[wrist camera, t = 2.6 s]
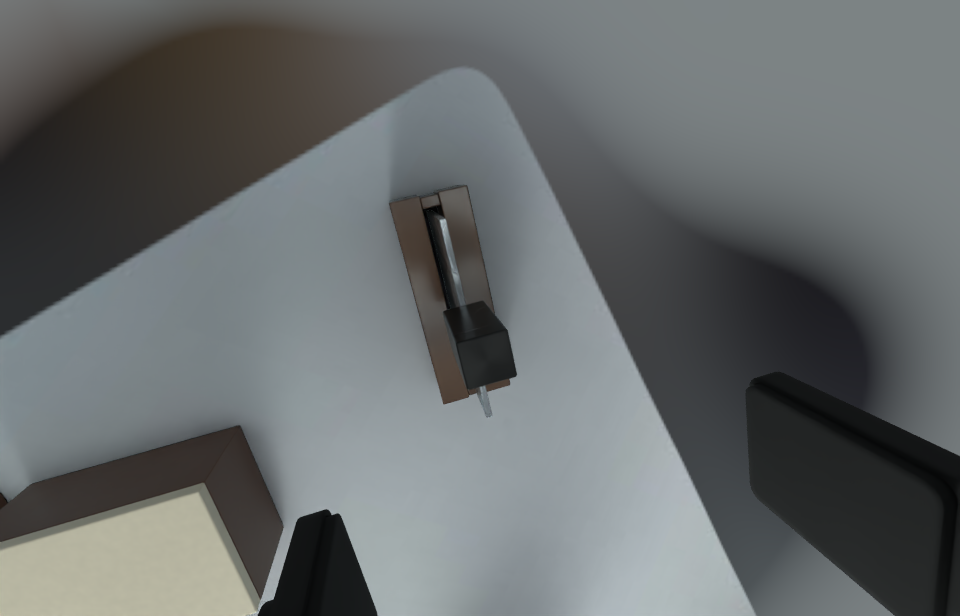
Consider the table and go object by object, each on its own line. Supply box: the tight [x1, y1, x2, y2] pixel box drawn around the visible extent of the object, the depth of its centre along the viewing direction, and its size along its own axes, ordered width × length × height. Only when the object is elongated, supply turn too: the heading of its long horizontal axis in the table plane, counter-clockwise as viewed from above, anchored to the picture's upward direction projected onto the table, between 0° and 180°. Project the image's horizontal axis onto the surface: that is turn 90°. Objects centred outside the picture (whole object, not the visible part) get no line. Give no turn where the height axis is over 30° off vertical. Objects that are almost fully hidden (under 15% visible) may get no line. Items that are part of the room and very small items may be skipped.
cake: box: [0, 426, 284, 616], centre depth 25 cm, size 8×12×6 cm, turn 102°
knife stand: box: [389, 185, 510, 404], centre depth 27 cm, size 12×4×3 cm, turn 12°
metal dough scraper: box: [426, 210, 517, 418], centre depth 22 cm, size 10×2×12 cm, turn 12°
